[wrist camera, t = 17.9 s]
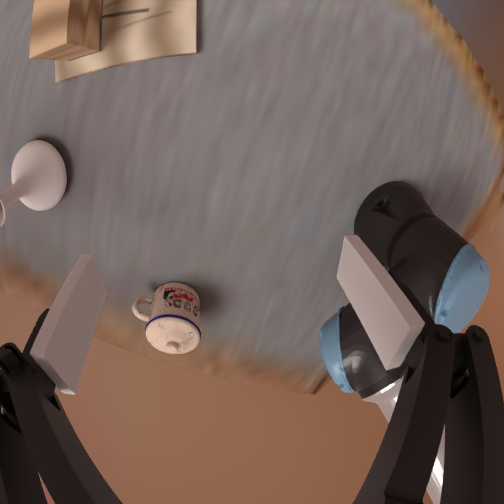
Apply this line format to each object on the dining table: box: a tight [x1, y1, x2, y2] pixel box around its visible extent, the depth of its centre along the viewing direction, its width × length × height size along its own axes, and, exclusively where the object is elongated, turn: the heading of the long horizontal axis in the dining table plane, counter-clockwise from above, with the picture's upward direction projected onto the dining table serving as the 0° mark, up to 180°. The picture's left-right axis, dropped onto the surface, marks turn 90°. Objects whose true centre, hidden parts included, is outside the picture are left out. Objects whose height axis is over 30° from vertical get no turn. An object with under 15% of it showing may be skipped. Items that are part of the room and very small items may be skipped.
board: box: [55, 0, 197, 83], centre depth 23 cm, size 20×14×2 cm
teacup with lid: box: [132, 282, 201, 354], centre depth 44 cm, size 12×9×12 cm
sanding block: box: [30, 0, 104, 61], centre depth 18 cm, size 9×5×10 cm, turn 0°
